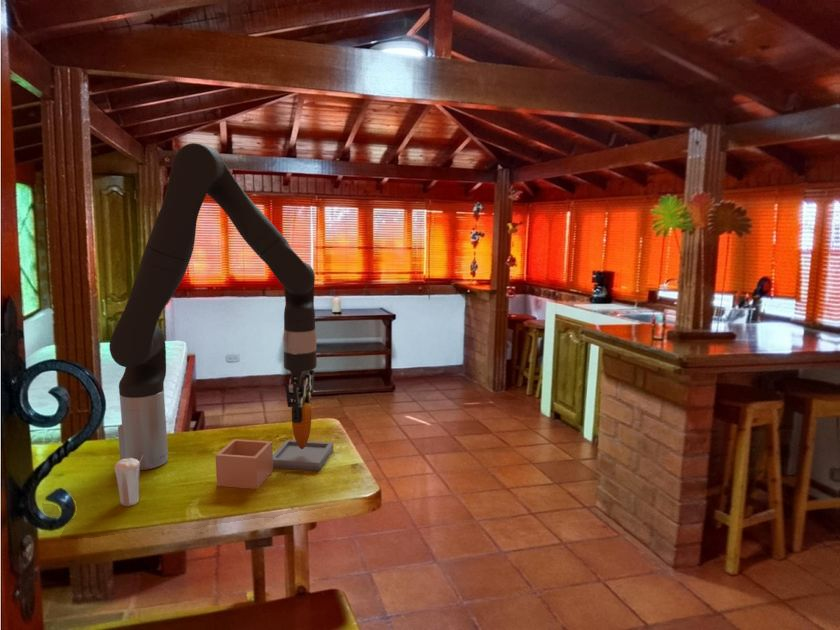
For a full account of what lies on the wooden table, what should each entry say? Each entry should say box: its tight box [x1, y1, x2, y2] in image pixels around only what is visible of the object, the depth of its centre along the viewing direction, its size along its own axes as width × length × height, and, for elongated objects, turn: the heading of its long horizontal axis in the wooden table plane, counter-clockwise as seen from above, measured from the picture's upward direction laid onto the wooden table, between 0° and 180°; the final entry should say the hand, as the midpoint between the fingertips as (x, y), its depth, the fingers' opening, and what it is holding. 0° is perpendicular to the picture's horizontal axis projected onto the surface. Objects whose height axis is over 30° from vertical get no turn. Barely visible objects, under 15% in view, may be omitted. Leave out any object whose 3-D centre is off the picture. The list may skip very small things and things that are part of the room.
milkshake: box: [114, 456, 143, 507], centre depth 117 cm, size 4×5×10 cm
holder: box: [215, 438, 274, 490], centre depth 129 cm, size 9×9×7 cm
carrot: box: [291, 392, 312, 449], centre depth 139 cm, size 5×5×15 cm
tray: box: [273, 439, 334, 472], centre depth 140 cm, size 12×12×2 cm
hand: (301, 417), depth 139 cm, fingers closed on carrot, 5 cm apart
